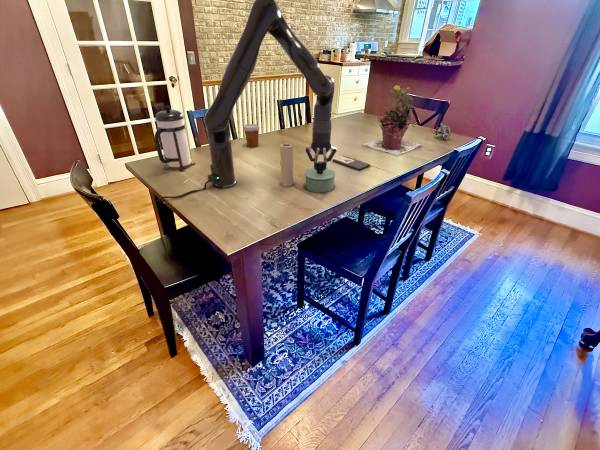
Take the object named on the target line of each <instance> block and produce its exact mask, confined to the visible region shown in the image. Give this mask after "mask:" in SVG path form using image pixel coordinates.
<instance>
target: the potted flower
mask: <svg viewBox="0 0 600 450" xmlns="http://www.w3.org/2000/svg"><path fill="white" fill-rule="evenodd" d="M401 86H402V83H400V82H397V85H394V86H393V88H392V89H390V90H389V92H390V93H391V94H394V95H395V96H396V98H390V99H389V103H390V104H394V103H395V102H396V105H395V107H390V106H384V107H383V109H386V111H383V110H382V112H383V113H385V116H384V115H381V116H379V115H378V114H377V115H376V116H377V117H376V118H377V122H378V123H379V127H380V129H381V132H382V133H381V134H382V137H381V138H380V139H374V140H372V141H368V142H367V141H366V142H364V143H362V146H363V147H365V148H369V149H372V150H376V151H380V152H382V153H386V154H389V155H392V156H396V157H397V156H400V155H402V154H405V153H408V152H410V151H413V150H416V149H419V148H421V147H422V144H420V143H417V142H411V141H405V140H403V138H404V136H405V134H406V132H407V131H408V129H409V126H410V125H411V126H412V127H413V128H414V129H416V128H415V125H414V123H413V122H412V120H413V119H412V118H413V117H412V116H411V115H410V112H411V111H415V112H416V113H419V110H417V109H416V108H414V105H413V104H412V103H411V104H410V103H409V100H411V101H414V98H411V97H413V96H412V95H410V96H409V94H410V90H411V89H410V87H411V86H409V87H406V88H405V89H404V88H403V87H401ZM399 104H400V105H399ZM387 110H389V112H388V111H387ZM407 110H408V111H409V112H408V113H407ZM378 144H382V147H378ZM401 147H403V149H404V150H405V151H404V150H402V149H401Z"/></svg>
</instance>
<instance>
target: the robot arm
mask: <svg viewBox="0 0 600 450" xmlns="http://www.w3.org/2000/svg"><path fill="white" fill-rule="evenodd" d="M286 21H287V20H285V18H284V16H283V14H282V12H281V9H280V7H279V5H278V4H277V1H276V0H254V2H253V3H252V6H251V9H250V11H249V15H248V17H247V19H246V23H245V26H244V29H243V31H242V33H241V36H240V38H239V40H238V42H237V43H236V46H235V48H234V50H233V53H232V55H231V57H230V59H229V61H228V63H227V64H226V67H225V70H224V73H223V75H222V78H221V81H220V84H219V88H218V91H217V94H216V96H215V98H214V100H213V102H212V104H211V105H210V107H208V108H207V109H206V111H205V115H204V117H203V120H204V121H203V122H204V125H205V127H206V130H207V140H208V148H209V155H210V160H211V164H210V166H209V168H210V174H207V176H206V177H207V181H206V182H205V183H204V187H203V188H200V189H193V190H190V191H187V192H185V193H182V194H180V195H173V196H169V195H167V196H162V197H160V198H158V199H157V201H156V202H157V203H158V202H160V201H161V200H163V199H178V198H181V197H184V196H186V195H188V194H191V193H196V192H200V191H204V190H206V188H207V184H208V183H211V184H212V185H213V186H215V187H217V188H219V189H225V188H230V187H233V186H235V185H236V183H237V182H236V181H237V180H236V174H235V165H234V157H233V148H232V139H231V138H232V137H231V128H230V118H231V115H232V112H233V110H234V108H235V105H236V103H237V102H238V100H239V99H240V97H241V95H242V94H243V92H244V91H245V88H246V87H247V85H248V84H249V82H250V79H251V77H252V75H253V73H254V71H255V68H256V65H257V62H258V57H259V52H260V50H261V47H262V46H261V45H262V43H263V41H264V39H265V37H266V35H267V34H269V35H270V36H272V37H273V39H274V40H276V42H277V43H278V44H279V45H280V46H281V48H282V49H283V51H284V52H285V53H286V56H288V58H289V59H290V61H291V63H292V64H293V65H294V67H296V69H297V70H298V72H299V73H300V74H301V75H302V76H303V77H304V79H305V81H306V83H307V85H308V86H309V88H310V90H311V91H312V93H313V94H315V96H316V99H315V102H314V103H315V104H314V106H313V120H312V135H311V137H312V138H311V143H310V145H309V146H306V147H305V149H304V151H305V153H306V155H307V157H308V160H309V161H310V162H313V168H314V169H316V171H317V165H318V162H319V161H318V159H319V156H320V155H321V156H323V157H322V158H323V161H322V162H323V171H325V170H326V168H327V164H328V162H332V161H333V159H334V157H335V155H336V153H337V147H336V146H332V144H331V138H332V113H333V112H332V110H333V109H332V106H333V101H334V95H335V81H334V79H333V77H332V76H331V75H328V74H324V72H323V71H322V70H321V69H320V66H319V62H318V61H317V59H316V58H315V57H314V55H313V54H312V53H311V51H310V50H309V49H308V47H306V45H305V44H304V43H303V41H301V39H299V37H298V36H296V34H295V33H294V32H293V30H292V29H291V28H290V26H289V24H288V23H287V22H286ZM311 151H313V152H314V157H313V154H312V152H311ZM329 151H330V153H329V154H328V152H329ZM327 154H328V157H327ZM159 237H160V240H161V243H162V247H163V250H164V253H165V255H166V256H165V257H166V259H167V262H168V261H170V262H171V260H170V257H169V254H168V251H167V247H166V245H165V241H164V237H163V235H160V236H159Z"/></svg>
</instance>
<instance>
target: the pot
mask: <svg viewBox="0 0 600 450" xmlns="http://www.w3.org/2000/svg"><path fill="white" fill-rule="evenodd" d="M335 176H336V175H335ZM335 176H334V177H333V178H331V179H328V180H314V179H310V178H308V177H306V176H305V188H306V189H307V190H308V191H310V192H313V193H327V192H330V191H332V190H333V189H334V188H335Z"/></svg>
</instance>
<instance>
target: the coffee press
mask: <svg viewBox="0 0 600 450" xmlns="http://www.w3.org/2000/svg"><path fill="white" fill-rule="evenodd" d="M184 118H185V116H184V114H182V112H181V111H180V110H178V109H177V110H176V109H171V107H170V105H168V104H166V105H164V110H161V111H158V112H157V113H156V114H155V117H154V120H155V121H156V125H157V126H156V128H157V130H156V131H155V133H154V144H155V148H156V151H157V156H158V158H159V161H160V162H161V163H162V164H165V165H164V169H165V170H168V169H169V168H170V167H171V168H179V169H180V171H181V172H184V171H185V168H184V167H187V166H188V165H190V164H191V165H193V166H195V164H196V161H194V160H193V159H192V153H191V149H190V143H189V138H188V133H187V129H186V123H185V120H184Z"/></svg>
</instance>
